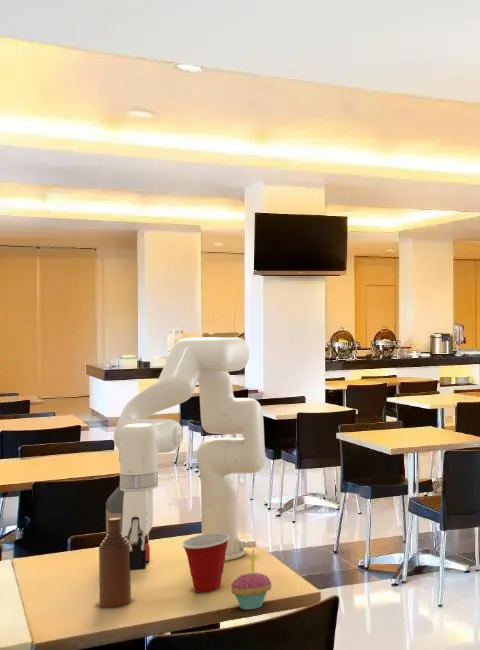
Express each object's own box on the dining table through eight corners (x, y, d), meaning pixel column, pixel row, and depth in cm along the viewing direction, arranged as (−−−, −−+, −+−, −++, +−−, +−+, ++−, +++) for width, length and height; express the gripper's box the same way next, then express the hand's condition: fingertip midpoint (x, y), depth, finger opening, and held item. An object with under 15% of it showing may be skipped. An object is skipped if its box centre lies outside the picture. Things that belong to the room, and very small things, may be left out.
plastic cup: (175, 587, 207) (175, 537, 207) (221, 579, 214) (220, 530, 214) (190, 599, 198) (189, 546, 198) (237, 589, 205) (236, 538, 205)
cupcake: (236, 600, 197) (236, 547, 197) (274, 599, 198) (274, 546, 198) (227, 613, 189) (227, 558, 189) (267, 612, 189) (267, 556, 189)
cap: (129, 563, 185) (129, 548, 185) (128, 559, 188) (128, 544, 188) (150, 561, 187) (150, 546, 187) (148, 557, 190) (148, 542, 190)
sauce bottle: (133, 597, 200) (132, 514, 200) (128, 606, 194) (127, 520, 194) (102, 599, 199) (102, 516, 199) (96, 608, 193) (96, 522, 193)
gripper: (127, 475, 195) (127, 557, 195) (112, 489, 179) (113, 579, 178) (163, 473, 197) (163, 555, 196) (151, 487, 180) (152, 576, 180)
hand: (139, 565), depth 187 cm, fingers closed on cap, 3 cm apart
